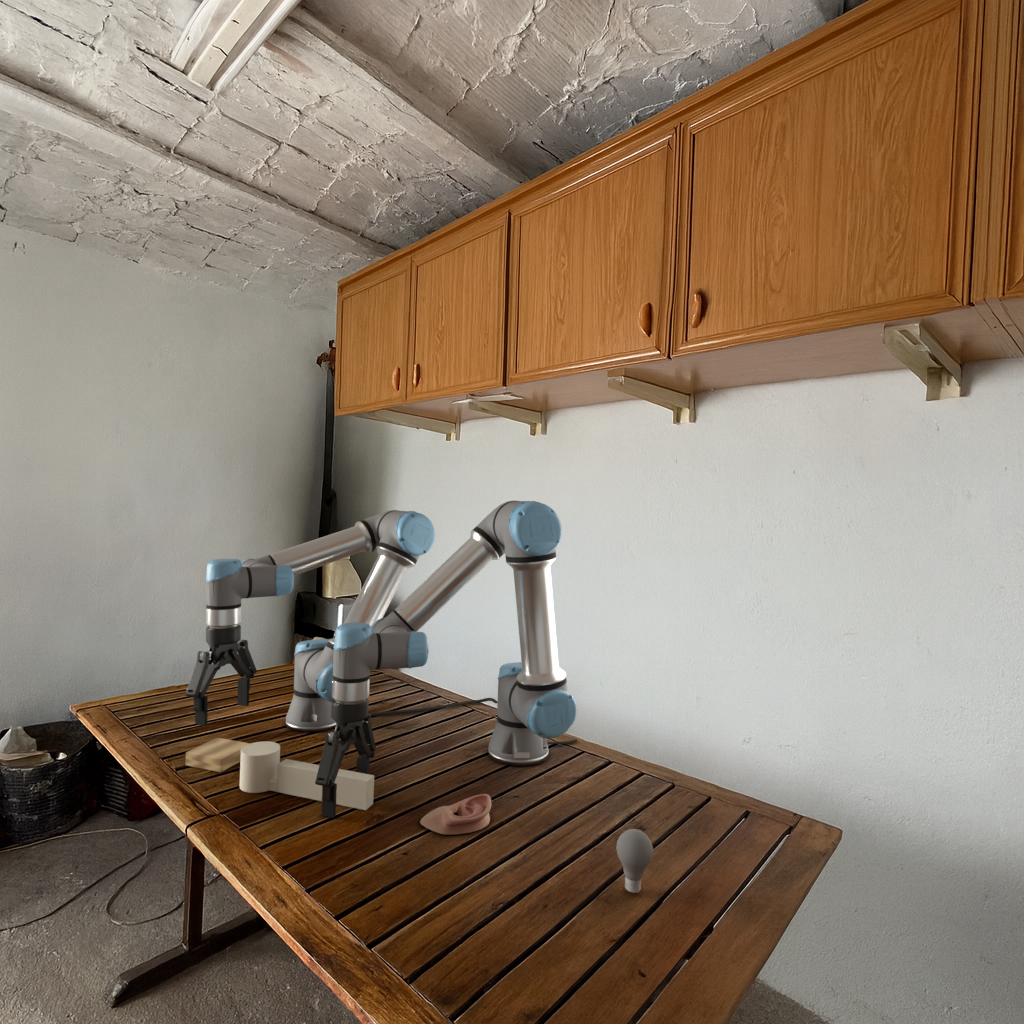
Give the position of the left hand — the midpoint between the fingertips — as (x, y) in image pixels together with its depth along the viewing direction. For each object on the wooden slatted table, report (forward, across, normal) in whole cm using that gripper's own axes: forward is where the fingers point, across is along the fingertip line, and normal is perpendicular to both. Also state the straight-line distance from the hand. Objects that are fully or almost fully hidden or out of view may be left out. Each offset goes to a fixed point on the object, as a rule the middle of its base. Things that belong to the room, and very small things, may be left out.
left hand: (223, 714), depth 149 cm
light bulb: (+12, +17, +98) cm, 100 cm away
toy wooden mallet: (+11, +7, +28) cm, 31 cm away
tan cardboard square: (+11, +1, -1) cm, 11 cm away
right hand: (+11, +7, +38) cm, 40 cm away
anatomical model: (+12, +6, +62) cm, 63 cm away
